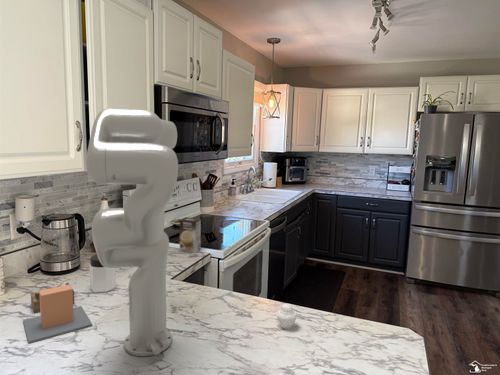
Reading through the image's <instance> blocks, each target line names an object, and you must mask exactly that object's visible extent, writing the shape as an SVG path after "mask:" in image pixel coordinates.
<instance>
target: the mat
mask: <svg viewBox="0 0 500 375" xmlns="http://www.w3.org/2000/svg"><path fill="white" fill-rule="evenodd" d="M73 314H74V321H72V322H68V323H64V324H61V325H57V326H53V327H49V328H46V329H43V328H42V325H41V315H39V316H35V317H30V318H26V319H23V320H22V322H23V323H22V324H23V327H24V330H25V334H26V338H27V342H28V344H33V343H36V342H39V341H43V340H47V339H51V338H54V337H58V336H61V335H65V334H68V333H73V332H76V331H79V330H82V329H88V328H90V327H93V323H92V321H91V319H90V318H89V316H88V315H87V313H86V311H85V310H84V308H83V307H82V305H79V306H76V307H73Z"/></svg>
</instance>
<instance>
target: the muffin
mask: <svg viewBox="0 0 500 375" xmlns="http://www.w3.org/2000/svg"><path fill="white" fill-rule="evenodd" d="M275 314H276V319H277V321H278V323H279V325H280V327H281V328H282V329H285V330H286V329H290V328H292V326H293V325H294V323H295V322H296V320H297V316H298V315H297V312H296V311H295V310H294V308H293V306H292V305H291V304H290V303H284V304H282V305H281V307H280V308H279V309H278V310H276V313H275Z"/></svg>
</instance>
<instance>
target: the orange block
mask: <svg viewBox="0 0 500 375" xmlns="http://www.w3.org/2000/svg"><path fill="white" fill-rule="evenodd" d="M71 287H72V286H71V284H70V285H66V284H65V285H61V286H57V287H52V288H45V289H42V290H39V291H38V293H39V297H40V312H39V313H40V316H41V325H42V328H43V329H46V328H49V327H53V326H57V325H61V324H64V323H68V322H72V321H74V314H73V308H74V304H73V292H72V289H73V287H72V288H71Z"/></svg>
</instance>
